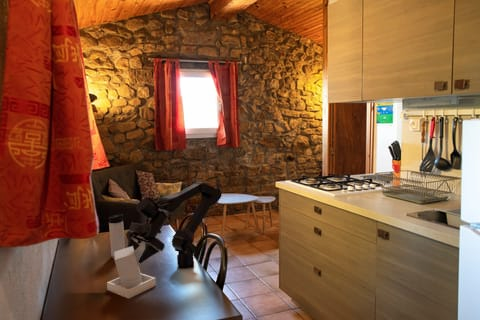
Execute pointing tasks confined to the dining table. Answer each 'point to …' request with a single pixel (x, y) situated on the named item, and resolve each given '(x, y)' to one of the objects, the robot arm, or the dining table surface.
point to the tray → (129, 292)
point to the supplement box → (128, 267)
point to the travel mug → (116, 233)
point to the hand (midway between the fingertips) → (132, 260)
